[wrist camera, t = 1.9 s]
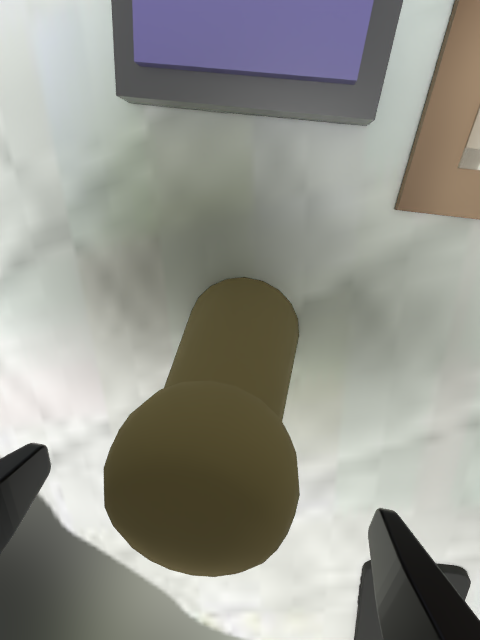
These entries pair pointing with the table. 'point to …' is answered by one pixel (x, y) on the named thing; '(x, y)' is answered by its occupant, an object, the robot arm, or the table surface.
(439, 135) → the marked board
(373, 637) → the phone
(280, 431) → the cork
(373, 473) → the table surface
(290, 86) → the ink pad
